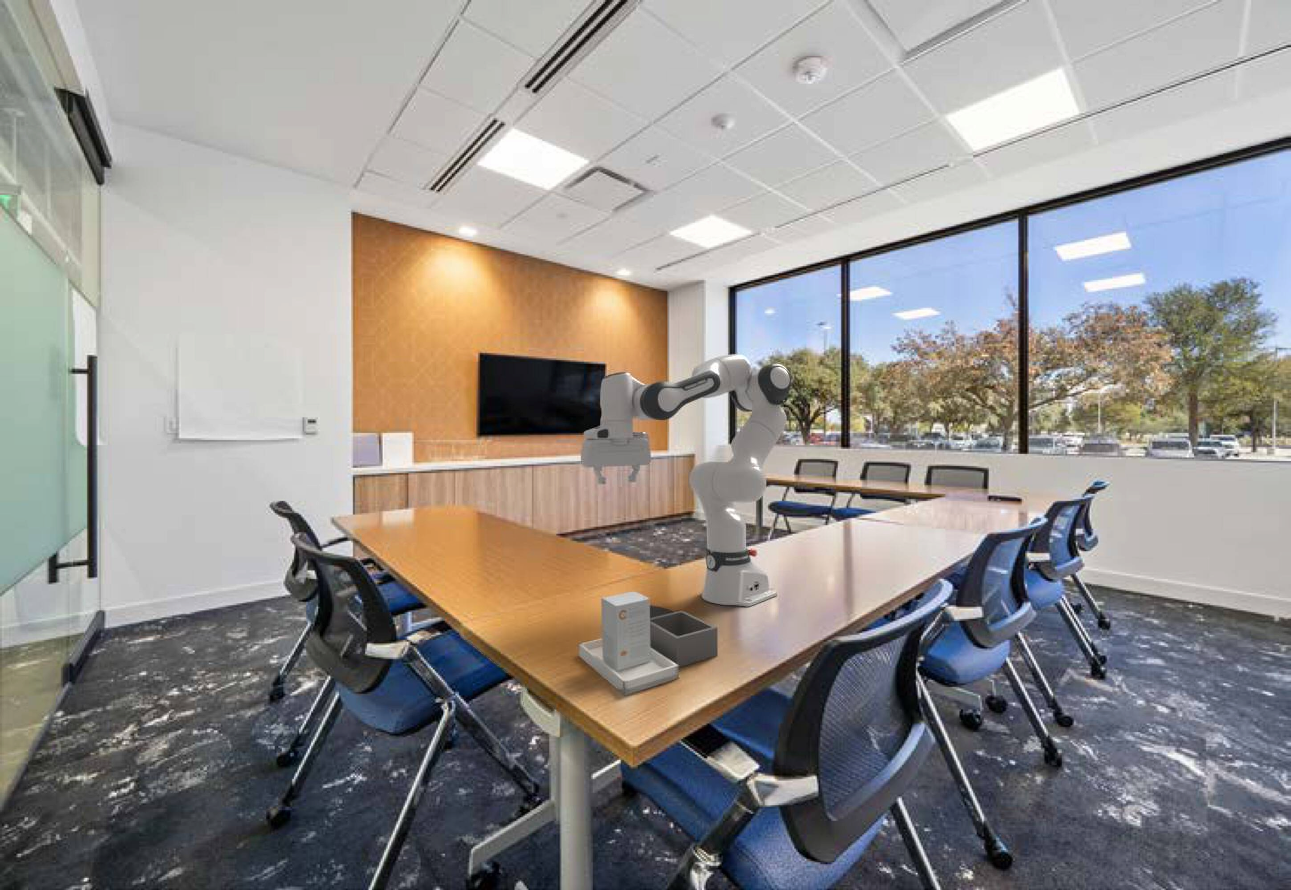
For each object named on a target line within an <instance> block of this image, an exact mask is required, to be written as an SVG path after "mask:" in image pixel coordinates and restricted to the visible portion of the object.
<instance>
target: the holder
mask: <svg viewBox="0 0 1291 890" xmlns="http://www.w3.org/2000/svg"><path fill="white" fill-rule="evenodd" d="M674 612H675V613H670V614H666V615H662V616H658V617H653V618H650V647H651V648H652V649H654V650H656V651H657V652H659V653H660V654H662V655H663V656H665V657H666V658H668V659H669V660H671V661H673V662H674V663H676V664H677V665H679V668H682V667H686V666H688V665H692V664H694V663H698V662H701V661H706V660H708V659H712V658H714V657H717V656H719V655H718V653H719V652H718V651H719V650H718V648H719V647H718V646H719V645H718V627H717V626H715V625H713V624H711V623H708V622H706V621H704V620H703V619H701V618H699V617H696V616H695V615H692V614H690V613H688V612H686V611H684V610H680V611H674Z"/></svg>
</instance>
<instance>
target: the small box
mask: <svg viewBox="0 0 1291 890" xmlns="http://www.w3.org/2000/svg"><path fill="white" fill-rule="evenodd" d="M600 601H601V602H600V603H601V605H600V606H601V638H602V655H603V661H604V662H606V663H607V664H608V665H609V666H611V667H612V668H613V669H614V670H616V671H620V670H623V669H627V668H630V667H633V666H636V665H640V664H643V663H647V662H650V661H651V656H650V605H651V603H650V602H651V600H650V598H649V597H647V596H645V595H643V594H641V593H638V592H637V591H629V592H624V593H620V594H619V593H618V594H614V595H610V596H606V597H605V596H604V597H601V600H600Z"/></svg>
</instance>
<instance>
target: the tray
mask: <svg viewBox="0 0 1291 890" xmlns="http://www.w3.org/2000/svg"><path fill="white" fill-rule="evenodd" d="M578 656H579V658H581V659H582V660H583V661H584V662H585V663H587V665H589V666H590V667H591V668H592V669H593V670H594V671H596V672H597V673H598V674H599V675H600V676H601V677H603V678H604V679H605V680H606V681H607V682H609V683H610V684H611V685H612V686H613V687H614V688H615V689H616V690H618V691H619V692H620V693H621V694H622V695H623V696H628V695H631V694H635V693H637V692H641V691H644V690H647V689H650V688H653V687H656V686H659V685H662V684H665V683H668V682H672V681H674V680H678V679H680V671H679V670H680V667H679V665H677V664H676V663H674V662H673V661H671V660H669V659H668V658H666V657H665V656H663V655H662V654H660V653H659V652H657V651H656V650H654V649H652V648H651V647H650V656H651V661H650V662H647V663H643V664H640V665H636V666H633V667H630V668H627V669H623V670H620V671H616V670H614V669H613V668H612V667H611V666H609V665H608V664H607V663H606V662H604V661H603V655H602V637H601V638H598V639H593V640H590V641H585V642H581V643H578Z"/></svg>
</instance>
